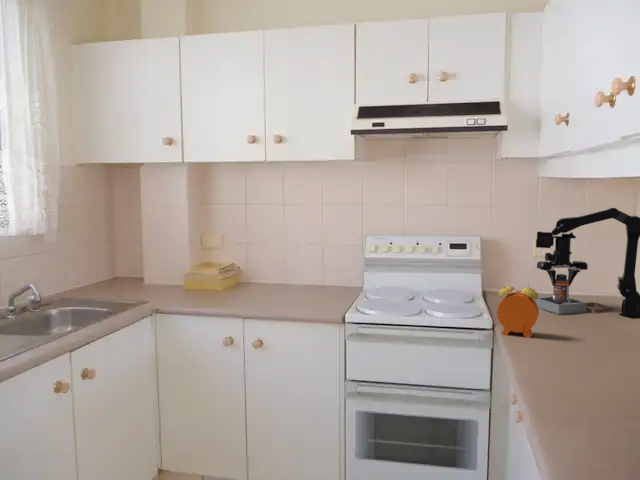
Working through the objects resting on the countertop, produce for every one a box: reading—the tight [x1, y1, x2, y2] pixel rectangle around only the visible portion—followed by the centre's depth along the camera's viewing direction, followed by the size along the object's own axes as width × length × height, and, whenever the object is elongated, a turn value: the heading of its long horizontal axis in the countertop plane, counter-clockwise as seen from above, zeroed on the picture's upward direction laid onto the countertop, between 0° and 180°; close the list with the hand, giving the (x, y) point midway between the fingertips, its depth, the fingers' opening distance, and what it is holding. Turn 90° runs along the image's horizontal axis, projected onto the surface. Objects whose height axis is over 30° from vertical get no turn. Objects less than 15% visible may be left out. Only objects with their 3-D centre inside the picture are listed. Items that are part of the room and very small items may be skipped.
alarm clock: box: [496, 277, 540, 338], centre depth 193 cm, size 13×6×20 cm, turn 64°
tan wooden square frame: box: [586, 301, 614, 314], centre depth 229 cm, size 10×10×2 cm
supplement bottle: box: [552, 273, 570, 303], centre depth 227 cm, size 6×6×11 cm
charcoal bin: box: [534, 295, 588, 316], centre depth 228 cm, size 14×14×4 cm
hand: (561, 286), depth 227 cm, fingers closed on supplement bottle, 6 cm apart
